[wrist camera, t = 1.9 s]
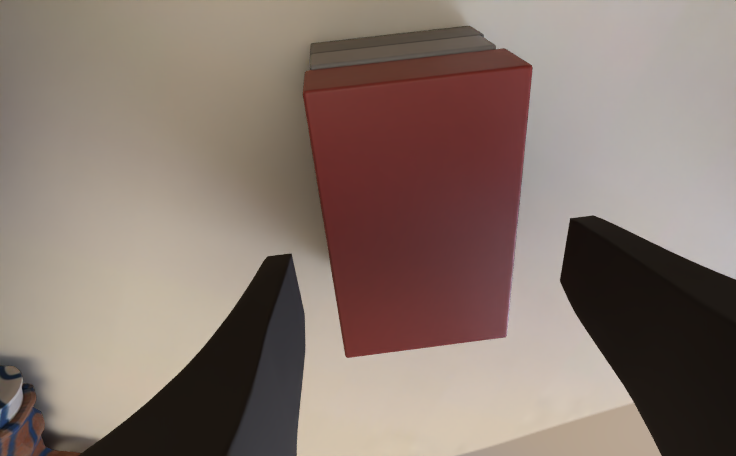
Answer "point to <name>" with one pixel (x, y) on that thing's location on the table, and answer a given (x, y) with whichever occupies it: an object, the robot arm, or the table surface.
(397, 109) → the oxblood book
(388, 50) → the grey stack
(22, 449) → the handgun
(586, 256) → the robot arm
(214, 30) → the table surface
